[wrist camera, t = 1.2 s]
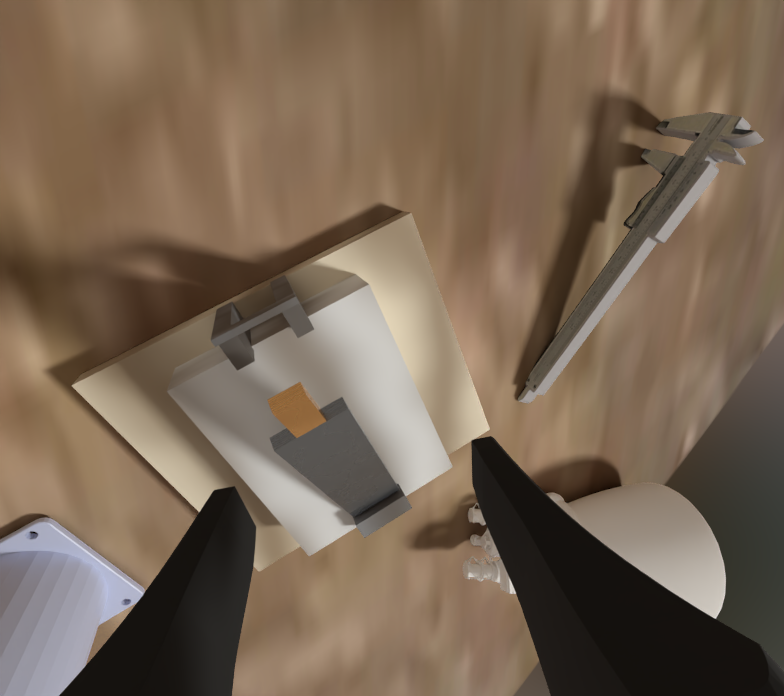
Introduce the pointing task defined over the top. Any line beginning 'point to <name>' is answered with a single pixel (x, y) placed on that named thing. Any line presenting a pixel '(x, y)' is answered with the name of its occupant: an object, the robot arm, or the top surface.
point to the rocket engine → (636, 541)
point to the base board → (406, 321)
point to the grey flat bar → (330, 450)
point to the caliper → (648, 226)
